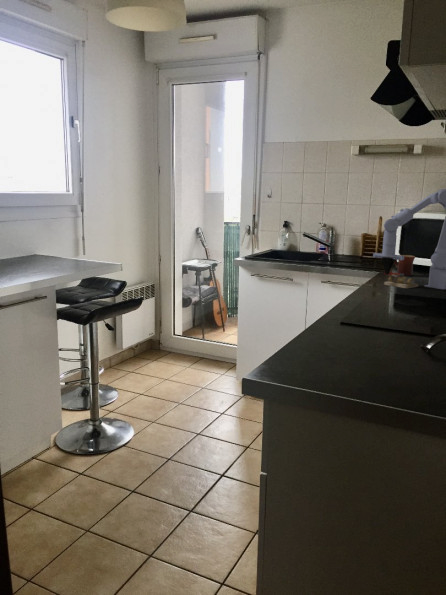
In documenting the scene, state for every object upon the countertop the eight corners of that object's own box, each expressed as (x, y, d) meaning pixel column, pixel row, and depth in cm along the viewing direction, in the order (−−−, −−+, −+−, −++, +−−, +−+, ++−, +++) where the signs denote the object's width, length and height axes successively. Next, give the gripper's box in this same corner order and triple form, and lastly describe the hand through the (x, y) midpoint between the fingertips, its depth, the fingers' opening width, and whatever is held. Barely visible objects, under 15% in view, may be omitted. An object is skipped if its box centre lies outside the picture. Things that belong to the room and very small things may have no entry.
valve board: (418, 286, 230) (418, 277, 229) (407, 288, 225) (408, 279, 224) (394, 282, 239) (395, 274, 238) (384, 284, 234) (384, 275, 233)
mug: (417, 276, 261) (418, 256, 258) (404, 277, 257) (406, 257, 255) (400, 272, 271) (401, 254, 269) (387, 273, 268) (389, 254, 266)
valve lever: (404, 276, 231) (404, 273, 231) (402, 276, 230) (403, 273, 229) (386, 273, 237) (386, 271, 237) (384, 274, 235) (384, 271, 235)
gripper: (408, 245, 228) (405, 275, 231) (379, 243, 239) (377, 271, 241) (401, 246, 224) (398, 276, 226) (371, 244, 234) (369, 272, 236)
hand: (386, 274), depth 233 cm, fingers closed, pressing on valve lever
